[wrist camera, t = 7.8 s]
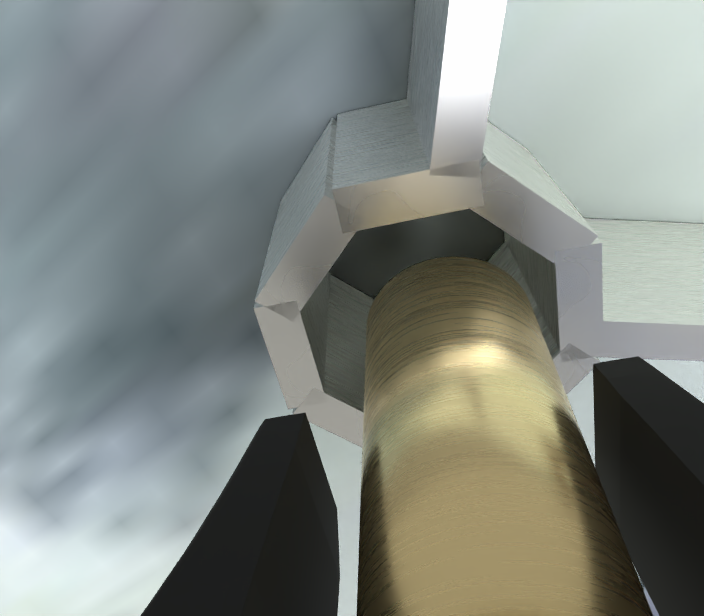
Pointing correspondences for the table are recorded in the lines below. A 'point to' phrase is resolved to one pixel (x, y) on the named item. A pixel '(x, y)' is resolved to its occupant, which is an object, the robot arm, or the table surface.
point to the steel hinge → (453, 195)
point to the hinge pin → (477, 461)
